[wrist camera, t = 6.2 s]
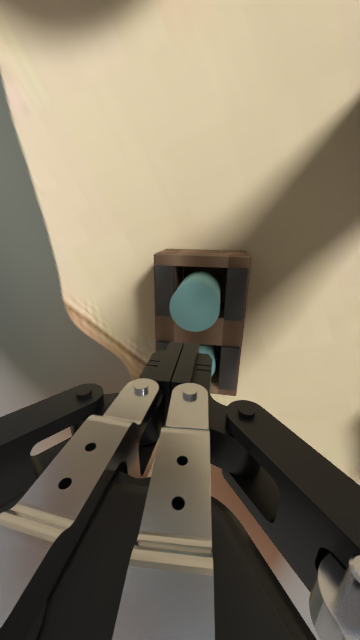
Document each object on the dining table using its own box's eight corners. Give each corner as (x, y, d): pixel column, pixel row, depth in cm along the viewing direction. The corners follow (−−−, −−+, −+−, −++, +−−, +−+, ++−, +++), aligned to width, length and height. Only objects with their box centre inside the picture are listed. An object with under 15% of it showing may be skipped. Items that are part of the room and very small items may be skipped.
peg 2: (217, 329, 32) (216, 351, 26) (215, 358, 33) (214, 383, 28) (185, 327, 32) (178, 347, 27) (184, 355, 34) (177, 380, 28)
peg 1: (221, 271, 25) (221, 284, 19) (219, 311, 26) (218, 333, 21) (180, 269, 25) (169, 282, 20) (180, 308, 26) (169, 329, 21)
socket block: (245, 251, 28) (251, 258, 23) (233, 367, 34) (236, 398, 28) (166, 248, 30) (152, 254, 24) (167, 361, 35) (156, 389, 29)
